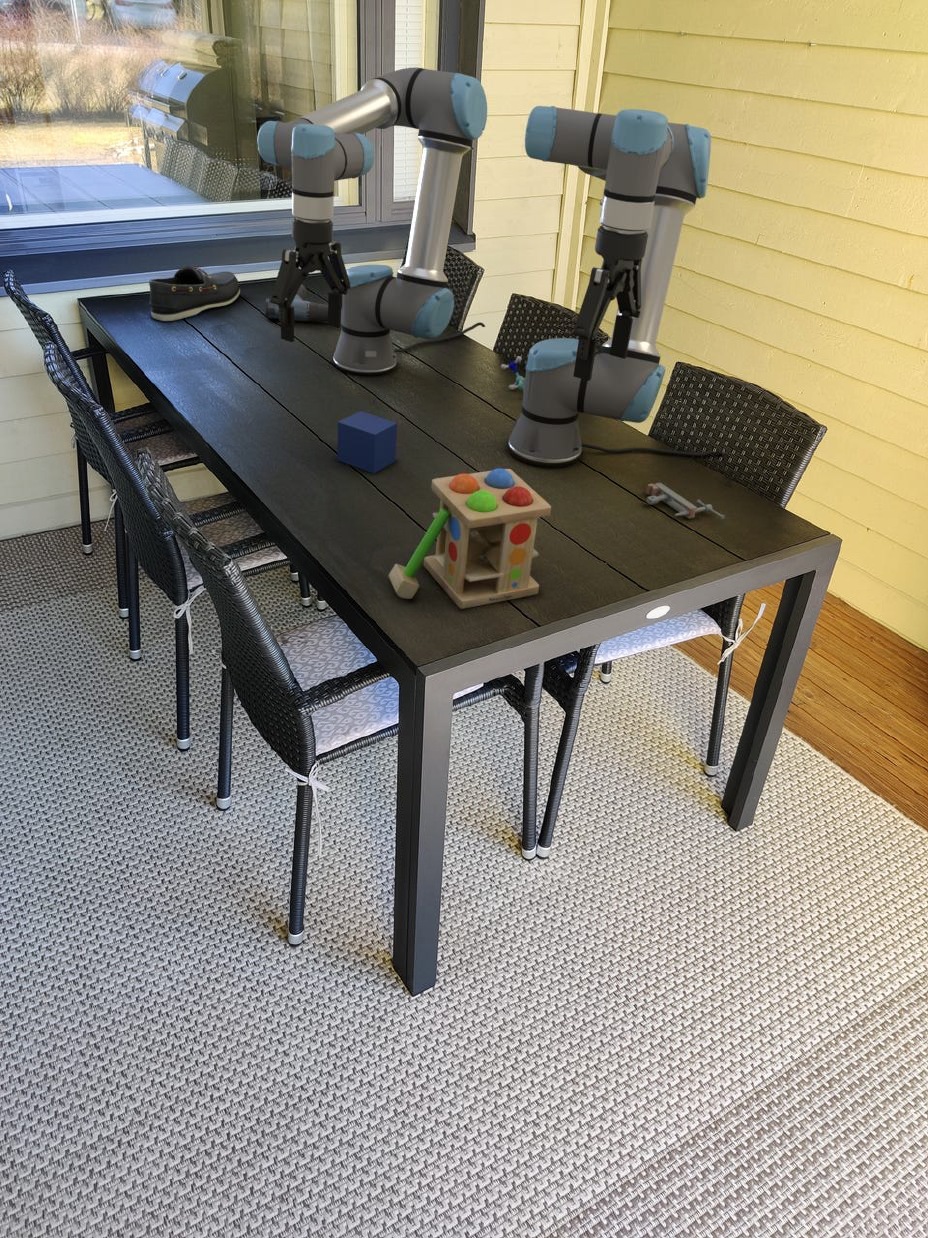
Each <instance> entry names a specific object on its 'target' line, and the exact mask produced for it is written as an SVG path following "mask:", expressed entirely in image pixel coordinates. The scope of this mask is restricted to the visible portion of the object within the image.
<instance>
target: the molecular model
mask: <svg viewBox="0 0 928 1238" xmlns="http://www.w3.org/2000/svg"><path fill="white" fill-rule="evenodd" d="M522 359H523V358H522V356H521V355H520V356H519V355H518V356H516V359H515V360H514V361H511V362H510V363H509V364H505V363H502V364H501V365H500V369H501V370H503V371H504V370H506V369H510V370H513V372H514V374H515V376H516V378H515V382H514V384H510V385H508V390H510V391H514V390H516V389H518V390H519V391H521V392H522V394H523V393H524V384H525V377H523V376H522V375H520V374H519V371H518V370H517V366H518V365H517V364H518V363H519V362H521V361H522Z"/></svg>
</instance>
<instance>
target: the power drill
mask: <svg viewBox="0 0 928 1238" xmlns="http://www.w3.org/2000/svg"><path fill="white" fill-rule="evenodd" d="M307 295H308V290H307V287H306V285H304V284H303V283H302V284H301V286H300V288H299V290H298V292H297V294H296V296H295V298H294V300H293V302H292V304H291V306H292V307H294V322H295V321H297V322H328V304H324V303H317V302H313V301H307V300H305V299H306V297H307ZM285 300H287V298H286V299H285ZM264 313H265V314H264V316H265V318H267V319H274V320H275V319H276V320H279V306H278V305H277V304H274V303H271V302H270V298H266V299H265V302H264Z"/></svg>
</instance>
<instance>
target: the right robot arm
mask: <svg viewBox="0 0 928 1238" xmlns="http://www.w3.org/2000/svg"><path fill="white" fill-rule="evenodd" d="M711 149H712V136H711V133H710V131H709V130H707V129H706V128H704V127H700V126H695V125H690V124H689V123H685V124H684V123H675V122H669V119H668V117H667V115H666V114H663V113H661V112H657V111H653V110H646V109H638V108H637V109H635V108H627V109H626V108H625V109H621V110H620V111H618V112H617V113H616V114H609V113H600V112H591V111H584V110H578V109H571V108H563V107H556V105H550V106H548V105H547V106H546V105H536V106H535V107H533V108H532V109H531V111H530V112H529V115H528V118H527V122H526V126H525V134H524V150H525V154H526V155H527V156H528V158H530V159H533V160H538V161H542V162H546V163H547V162H549V163H555V164H563V165H568V166H569V165H570V166H575V167H577V168H578V169H579V170H580V171H581V172H582V173H584V174H586V175H588V176H592V177H595V178H597V179H599V180H602V181H604V182H605V184H604V188H603V195H602V198H601V199H600V201H599V205H600V206H601V210H600V214H599V223H600V224H601V225H600V226H599V227H598V228H597V232H596V239H595V244H594V245H595V246H594V251H595V253H596V254H597V255H598V256H601V258H602V260H603V261H602V264H601V266H600V268H599V267H595V266H594V267H592V268H591V271H590V275H589V281H588V285H587V288H586V291H585V294H584V297H583V300H582V303H581V306H580V309H579V312H578V316H577V318H576V321H575V324H574V327H573V330H572V334H573V335H574V336H577V337H578V339H577V338H570V337H569V338H568V337H555V338H548V339H543V340H541V341H538V342H537V343H535V344H533V346H532V347H530V349H529V352H528V357H527V362H526V365H525V377H524V378H525V384H524V393H523V392H522V402H521V411H520V415H519V417H518V419H517V420H511V424H510V426H511V427H513V426H514V427H513V430H512V431H511V433H510V435H509V438H508V444H507V451H508V452H509V454H510V455H511V456H512V457H513V458H515V459H516V460H518V461H520V462H523V463H525V464H527V465H531V466H536V467H541V468H551V469H553V468H563V467H570V466H572V465H574V464H576V463H578V462H579V461H580V460H581V457H582V456H581V455H582V451H583V448H586V449H592V450H596V451H601V452H604V453H609V454H622V453H628V452H629V453H630V452H650V453H656V454H657V453H658V454H666V455H667V454H668V455H676V456H685V457H686V456H687V457H705V456H709V455H713V454H719V456H722V457H724V456H725V457H726V455H725V453H724V452H723V453H721V452H713V451H712V450H713V449H711V450H708V451H704V452H689V451H680V450H679V451H678V450H669V449H659V448H651V447H650V448H649V447H628V448H620V449H618V448H616V449H614V448H613V449H612V448H605V447H602V446H599V445H594V444H588V443H583V442H582V440H581V433H580V429H579V423H578V420H579V419H578V418H579V413H581V414H585V415H586V414H587V415H592V416H597V417H602V418H606V419H612V420H617V421H620V422H622V423H623V422H629V423H635V424H641V423H644V422H645V421H646V420H647V419H648V418H649V416H650V414H651V413H652V410H653V408H654V405H655V404H656V403H655V402H656V400H657V398H658V395H659V393H660V392H659V391H660V389H661V387H662V384H663V380H664V376H665V373H666V367H665V366H664V365H663V364H660V362H661V357H662V356H661V353H660V351H659V350H658V349H657V346H656V344H657V339H658V334H659V330H660V325H661V322H662V318H663V313H664V308H665V303H666V299H667V295H668V290H669V285H670V282H671V277H672V271H673V268H674V264H675V259H676V255H677V251H678V246H679V242H680V237H681V233H682V228H683V224H684V219H685V216H687V214H689V213H690V212H691V211H693V210H694V209H695V207H696V204H697V200H698V199H704V198H705V197H706V196H707V189H708V183H709V172H710V165H711V164H710V163H711V152H712V151H711ZM615 300H616V302H617V303H616V304H617V310H616V315H615V318H614V319H615V320H614V324H613V329H612V334H611V336H610V338H609V339H607V340H606V341H605V342H603V344H601V348H600V353H597V352H596V351H597V345H598V337H596V336H597V333H598V331H599V329H600V327H601V324H602V322H603V320H604V317H605V315H606V314H607V313H606V312H607V311H608V308H609V306H610V305H611V302H612V301H615Z"/></svg>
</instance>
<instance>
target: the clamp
mask: <svg viewBox="0 0 928 1238" xmlns="http://www.w3.org/2000/svg"><path fill="white" fill-rule="evenodd" d="M645 494H646V495H647V497H646V499H645V501H646V503H647V504H648V505H650V506H651V505H656V504H659V503H660V502H663V503H664V504H667V505H668V506H670V507H671V508H672V509H674V510H675V511H677V513H674V514H673V515H674V517H675V518H676V517H683V516H684V517H685V518H687V519H688V520H689V519H694V518H695V517H696V513H700V512H703V513H708V512H711V513H712V514H714V515H715V516H717V517H719V519H720V520H721V521H722V520H724V519H725V518H726V515H725V514H721V513H719V512H717V511H716V510H714V509H713V505H712V504H711V503H708V504H705V503H703V502H702V501H701V499H697V500H696V501H695V503H696V505H700V506H701V507H697V506H696V505H694V504H693V503H692V502H690V501H689V500H687V499H686V498H684V497H683V496H681V495H679V494H678V493H677V492H675V491H674V490H672V489H671V488H669V487H667V486H666V485H665V484H663V483H662V482H656V483H648V484H647V488H646V493H645Z"/></svg>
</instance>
